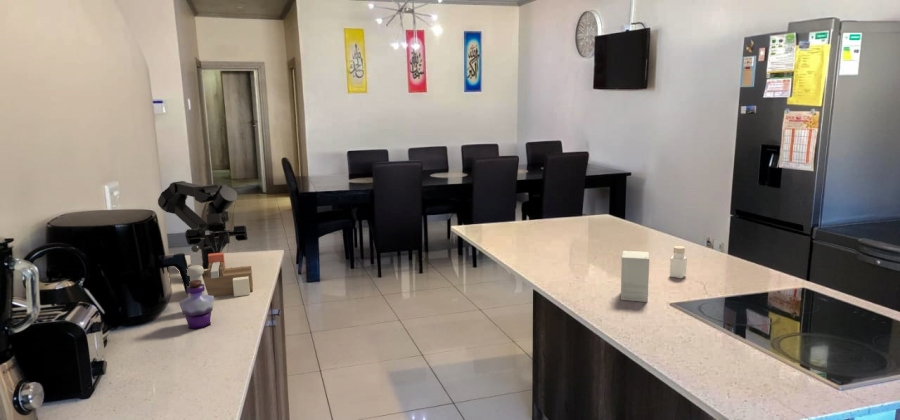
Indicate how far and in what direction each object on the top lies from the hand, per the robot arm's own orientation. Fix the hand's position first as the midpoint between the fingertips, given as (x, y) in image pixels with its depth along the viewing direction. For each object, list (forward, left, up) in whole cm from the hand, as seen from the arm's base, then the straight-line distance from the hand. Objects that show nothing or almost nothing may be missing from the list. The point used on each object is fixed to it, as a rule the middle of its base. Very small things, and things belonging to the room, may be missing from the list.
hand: (217, 256), depth 188 cm
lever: (+16, -5, -1) cm, 17 cm away
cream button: (+19, +7, -7) cm, 22 cm away
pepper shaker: (+52, +137, -8) cm, 147 cm away
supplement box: (+63, +113, -8) cm, 130 cm away
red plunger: (+13, 0, -3) cm, 14 cm away
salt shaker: (+29, -4, -8) cm, 31 cm away
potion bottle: (+40, -3, -8) cm, 41 cm away
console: (+13, +1, -8) cm, 15 cm away
